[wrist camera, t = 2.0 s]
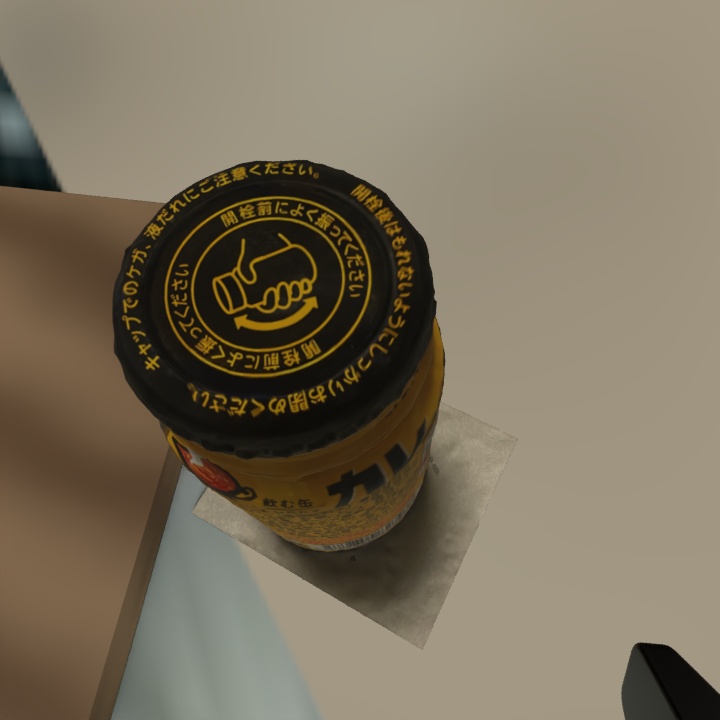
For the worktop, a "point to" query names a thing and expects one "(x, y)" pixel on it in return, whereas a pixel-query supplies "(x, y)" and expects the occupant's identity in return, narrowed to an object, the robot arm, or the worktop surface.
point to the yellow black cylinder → (309, 383)
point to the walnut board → (71, 458)
